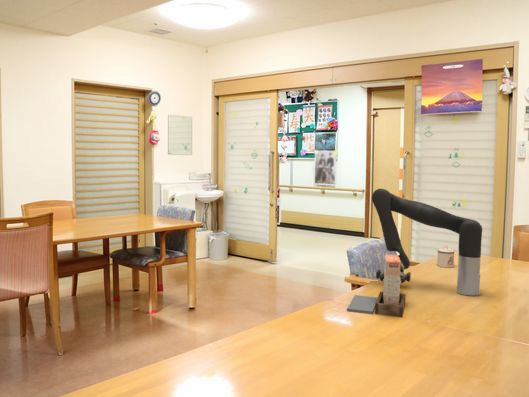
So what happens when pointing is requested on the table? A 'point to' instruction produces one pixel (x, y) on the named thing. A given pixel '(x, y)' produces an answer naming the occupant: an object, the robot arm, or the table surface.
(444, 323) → the table surface
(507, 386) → the table surface
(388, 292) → the cracker box
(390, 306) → the walnut collar
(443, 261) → the teacup with lid
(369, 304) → the flat gray rectangular board
